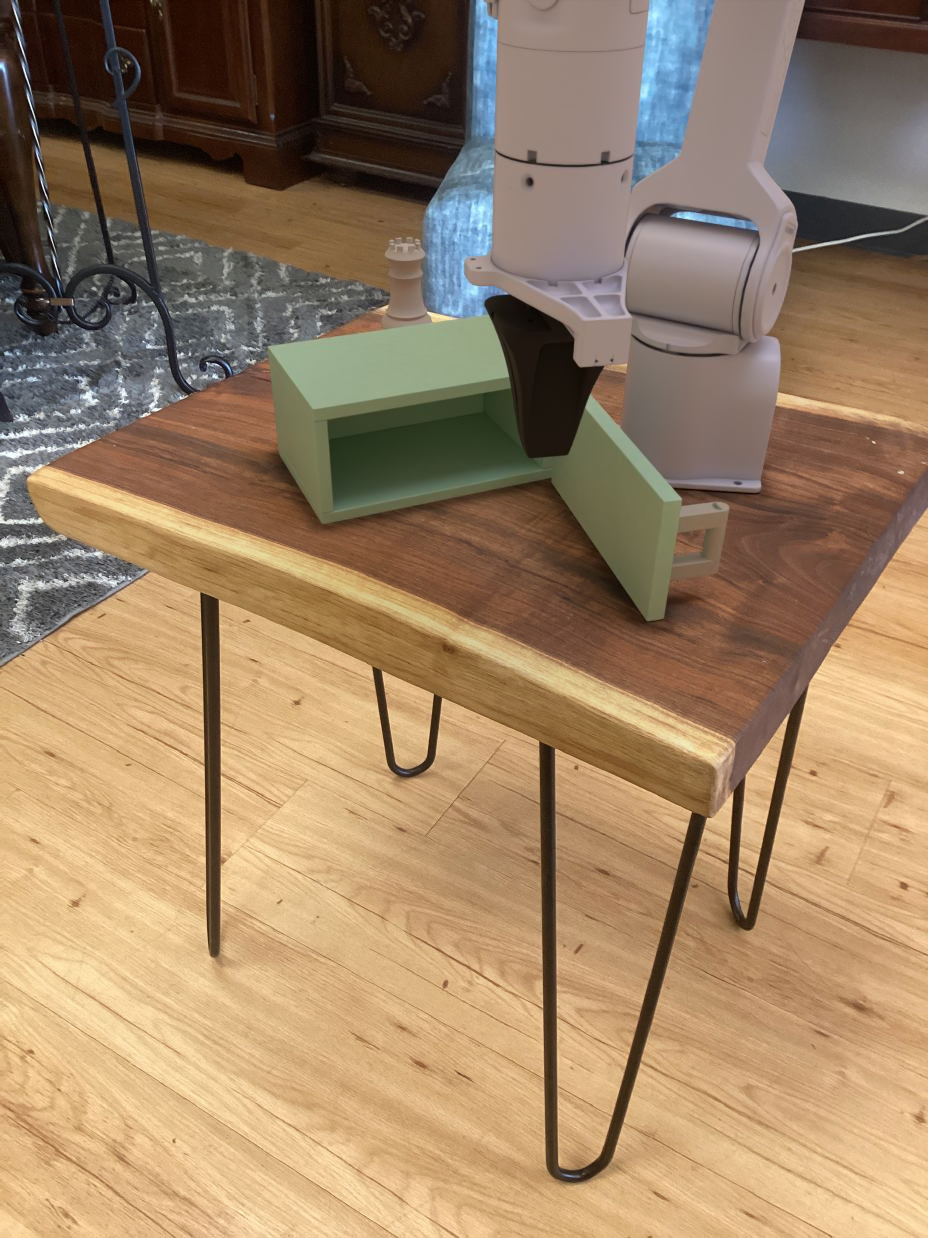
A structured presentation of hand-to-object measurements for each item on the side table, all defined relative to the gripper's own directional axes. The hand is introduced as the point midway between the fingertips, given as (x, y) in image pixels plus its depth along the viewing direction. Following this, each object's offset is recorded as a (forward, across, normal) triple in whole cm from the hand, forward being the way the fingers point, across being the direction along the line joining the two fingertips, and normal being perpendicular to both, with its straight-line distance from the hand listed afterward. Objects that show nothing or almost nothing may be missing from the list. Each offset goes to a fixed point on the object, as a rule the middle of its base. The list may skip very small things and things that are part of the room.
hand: (545, 450), depth 51 cm
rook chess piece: (+10, -39, -1) cm, 40 cm away
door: (+9, -5, +7) cm, 13 cm away
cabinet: (+9, -17, -4) cm, 20 cm away
